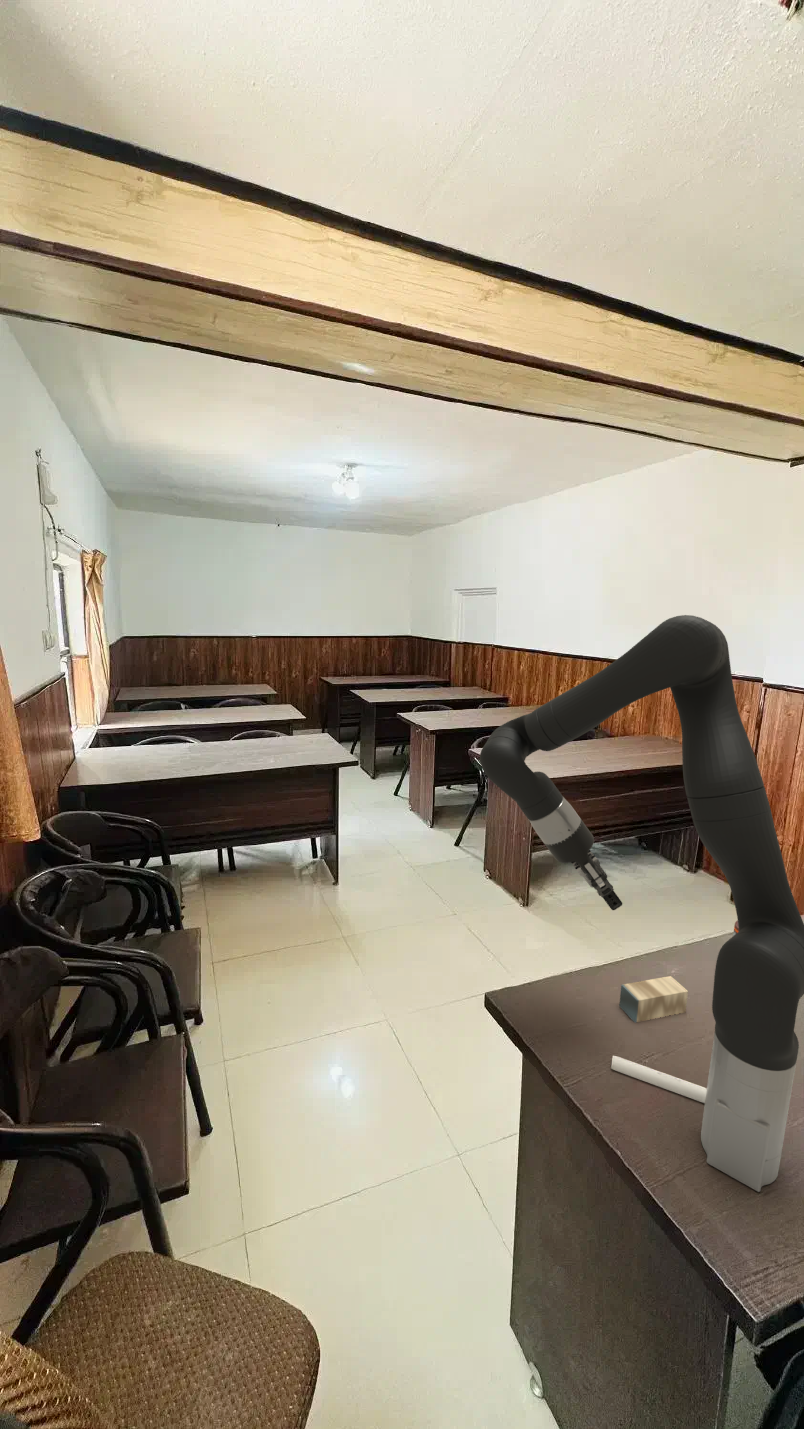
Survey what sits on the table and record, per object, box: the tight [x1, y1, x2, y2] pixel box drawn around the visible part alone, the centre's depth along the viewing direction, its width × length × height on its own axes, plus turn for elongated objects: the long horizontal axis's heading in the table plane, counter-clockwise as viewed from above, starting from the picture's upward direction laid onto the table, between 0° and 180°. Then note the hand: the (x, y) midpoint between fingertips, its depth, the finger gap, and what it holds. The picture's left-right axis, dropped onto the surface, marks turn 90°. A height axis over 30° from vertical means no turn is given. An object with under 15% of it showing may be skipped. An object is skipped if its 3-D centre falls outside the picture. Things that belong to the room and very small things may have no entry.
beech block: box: [618, 975, 689, 1023], centre depth 104 cm, size 4×4×11 cm
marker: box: [610, 1055, 707, 1104], centre depth 87 cm, size 18×2×2 cm, turn 62°
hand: (616, 905), depth 96 cm, fingers closed
